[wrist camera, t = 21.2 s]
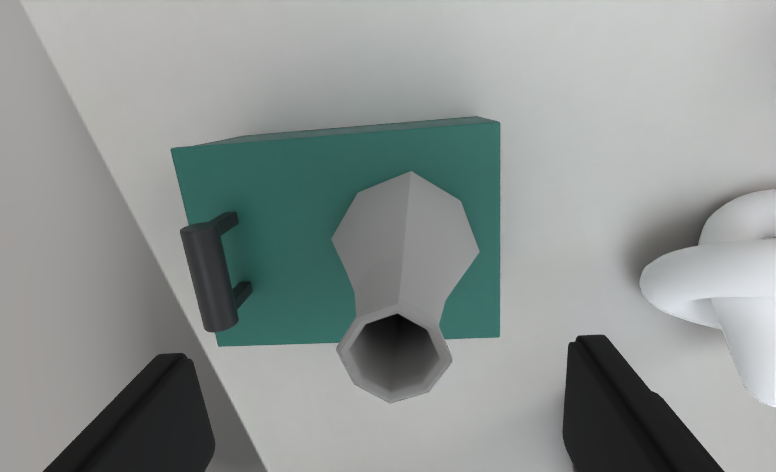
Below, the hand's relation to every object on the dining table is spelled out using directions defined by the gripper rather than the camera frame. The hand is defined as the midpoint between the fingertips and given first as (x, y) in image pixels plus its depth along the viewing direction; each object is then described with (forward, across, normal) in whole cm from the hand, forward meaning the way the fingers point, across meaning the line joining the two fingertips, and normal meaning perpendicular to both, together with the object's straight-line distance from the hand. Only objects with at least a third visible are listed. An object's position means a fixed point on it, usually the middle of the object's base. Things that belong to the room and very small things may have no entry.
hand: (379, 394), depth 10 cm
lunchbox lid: (+12, +3, 0) cm, 13 cm away
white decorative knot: (+19, -21, +5) cm, 29 cm away
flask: (+12, 0, 0) cm, 12 cm away
